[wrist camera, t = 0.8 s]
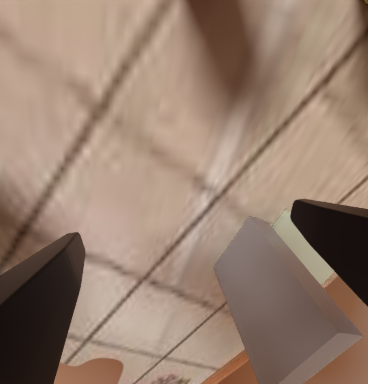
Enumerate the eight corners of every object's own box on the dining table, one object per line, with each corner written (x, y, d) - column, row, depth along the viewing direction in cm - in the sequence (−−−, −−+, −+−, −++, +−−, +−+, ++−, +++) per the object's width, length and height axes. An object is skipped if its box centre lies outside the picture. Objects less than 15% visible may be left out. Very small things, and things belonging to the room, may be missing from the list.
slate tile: (213, 267, 31) (263, 395, 19) (249, 215, 28) (338, 332, 16) (233, 271, 32) (291, 394, 20) (270, 223, 29) (366, 336, 17)
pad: (227, 284, 33) (229, 287, 33) (285, 208, 28) (288, 211, 28) (301, 298, 39) (304, 301, 39) (361, 238, 34) (364, 241, 34)
